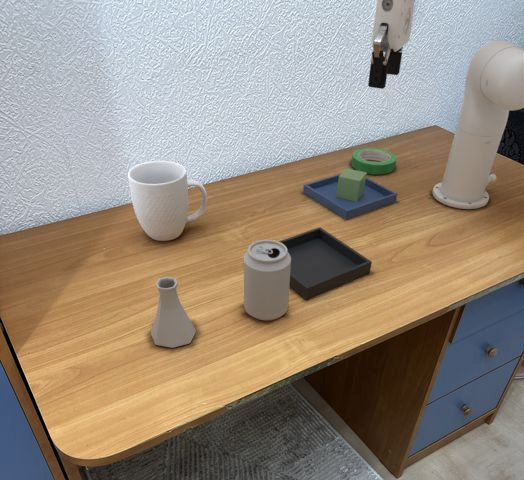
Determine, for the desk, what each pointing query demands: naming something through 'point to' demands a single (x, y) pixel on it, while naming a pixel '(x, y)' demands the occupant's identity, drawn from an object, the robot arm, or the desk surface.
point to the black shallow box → (322, 262)
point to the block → (351, 184)
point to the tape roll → (370, 167)
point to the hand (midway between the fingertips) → (383, 80)
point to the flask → (171, 317)
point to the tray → (369, 200)
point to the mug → (162, 198)
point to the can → (266, 279)
